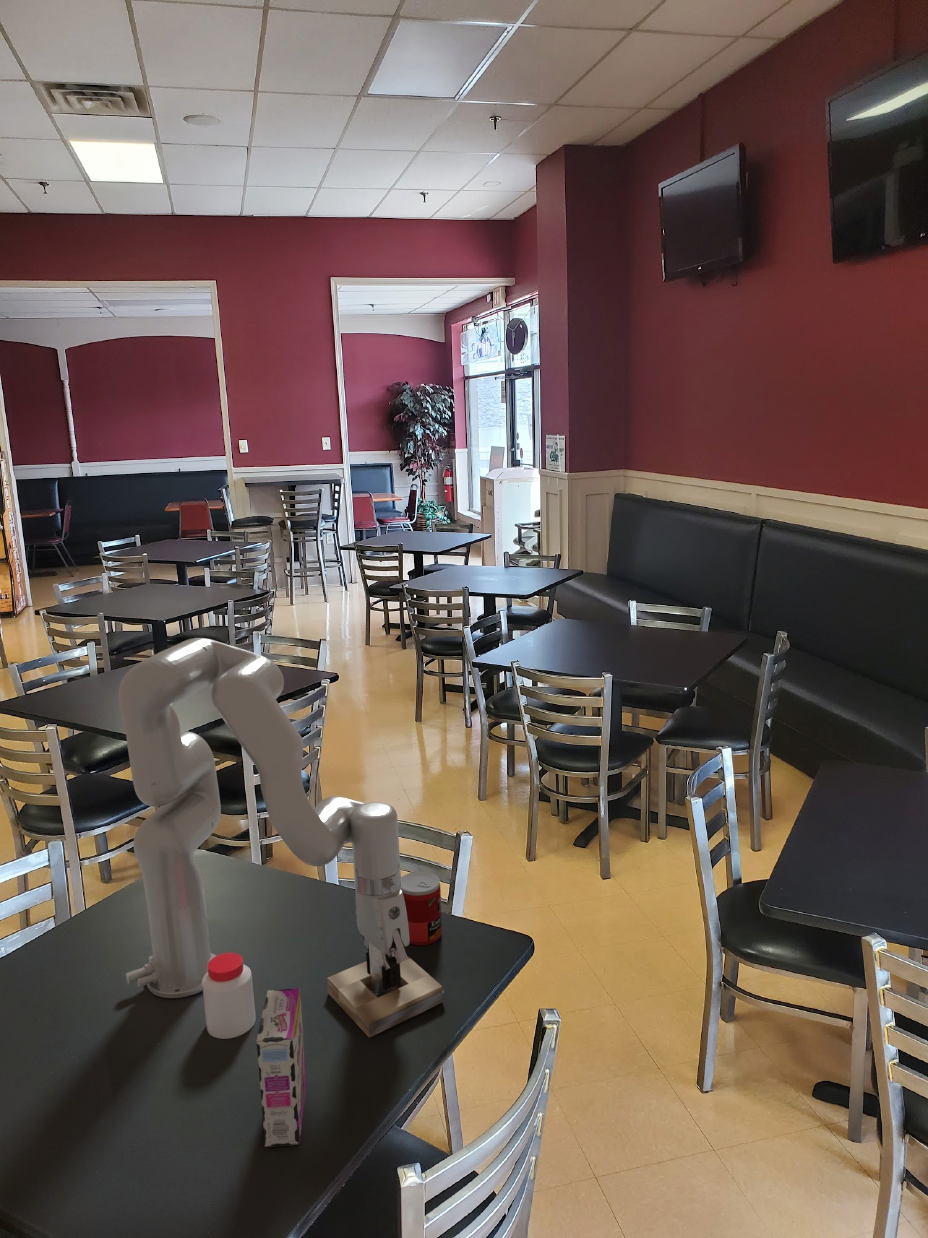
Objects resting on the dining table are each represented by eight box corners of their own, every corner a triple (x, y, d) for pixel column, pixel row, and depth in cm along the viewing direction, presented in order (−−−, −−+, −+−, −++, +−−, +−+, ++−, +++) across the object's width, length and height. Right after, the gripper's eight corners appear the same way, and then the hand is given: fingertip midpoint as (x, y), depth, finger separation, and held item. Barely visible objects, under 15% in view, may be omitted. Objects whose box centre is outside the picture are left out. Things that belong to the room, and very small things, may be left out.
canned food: (437, 948, 161) (435, 893, 159) (395, 944, 163) (392, 890, 161) (446, 925, 169) (444, 872, 166) (406, 922, 170) (403, 870, 168)
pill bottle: (212, 1045, 138) (205, 983, 135) (202, 1017, 145) (195, 957, 142) (261, 1029, 141) (255, 968, 139) (249, 1002, 148) (243, 943, 146)
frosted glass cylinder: (380, 1004, 145) (376, 949, 142) (367, 991, 148) (363, 937, 146) (403, 993, 147) (400, 940, 145) (389, 981, 151) (386, 928, 148)
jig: (371, 1039, 138) (370, 1023, 137) (328, 993, 150) (327, 977, 149) (444, 1004, 146) (444, 988, 145) (398, 962, 157) (398, 947, 157)
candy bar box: (302, 1146, 118) (293, 1039, 114) (264, 1149, 118) (254, 1042, 114) (309, 1085, 129) (301, 986, 125) (274, 1088, 128) (265, 988, 125)
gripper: (425, 892, 138) (430, 995, 142) (372, 852, 152) (378, 947, 156) (384, 908, 134) (390, 1013, 138) (333, 866, 148) (340, 963, 152)
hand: (383, 977), depth 147 cm, fingers closed on frosted glass cylinder, 4 cm apart
